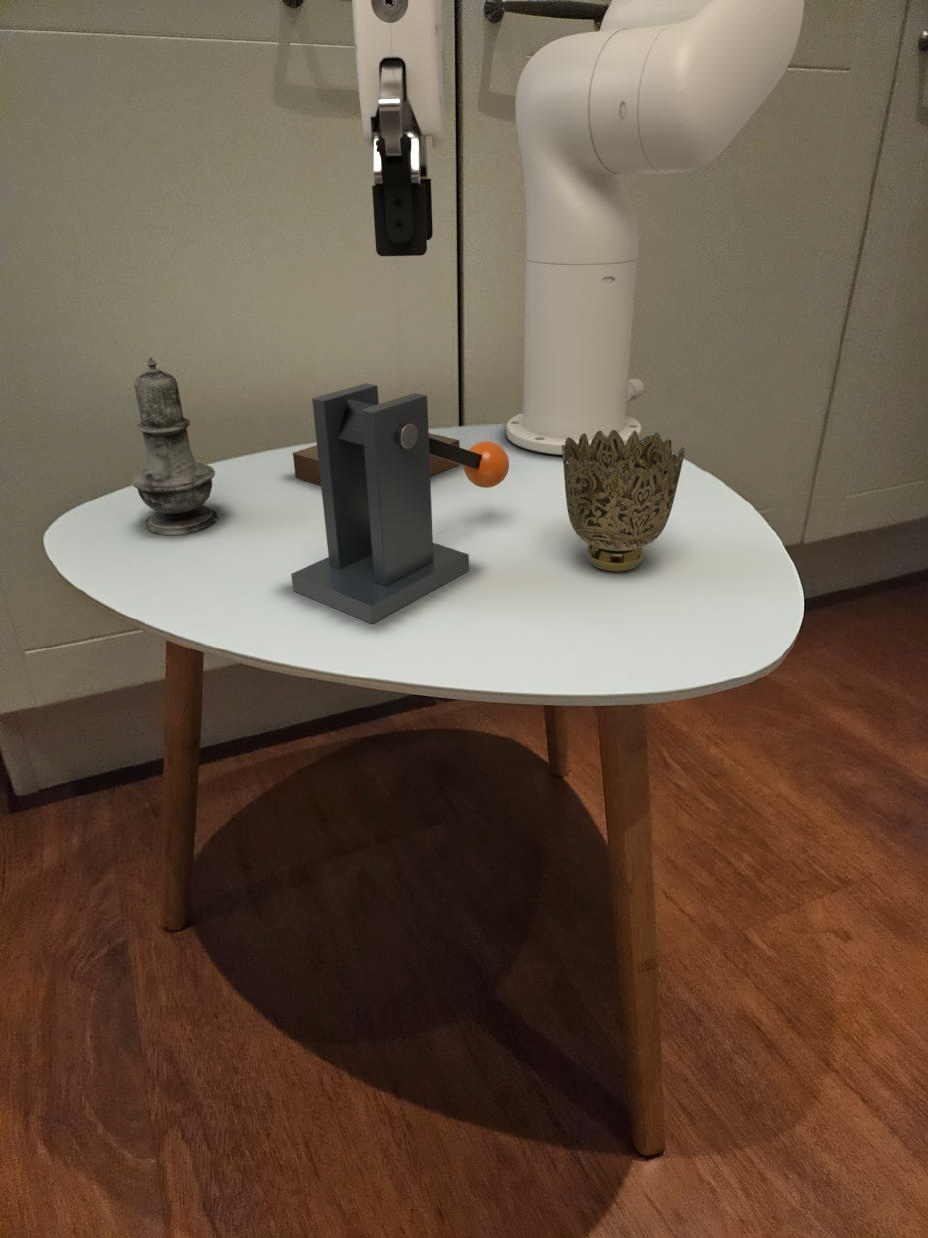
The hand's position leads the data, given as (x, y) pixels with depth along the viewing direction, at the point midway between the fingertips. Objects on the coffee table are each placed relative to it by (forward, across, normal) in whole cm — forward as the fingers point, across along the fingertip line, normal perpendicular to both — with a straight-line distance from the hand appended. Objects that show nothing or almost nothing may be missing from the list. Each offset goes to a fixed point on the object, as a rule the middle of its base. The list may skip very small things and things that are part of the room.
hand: (406, 246), depth 58 cm
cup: (+18, -12, -14) cm, 26 cm away
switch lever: (+12, -11, -1) cm, 17 cm away
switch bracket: (+18, -14, +2) cm, 23 cm away
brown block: (+18, +7, +4) cm, 20 cm away
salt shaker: (+18, -4, +18) cm, 26 cm away
